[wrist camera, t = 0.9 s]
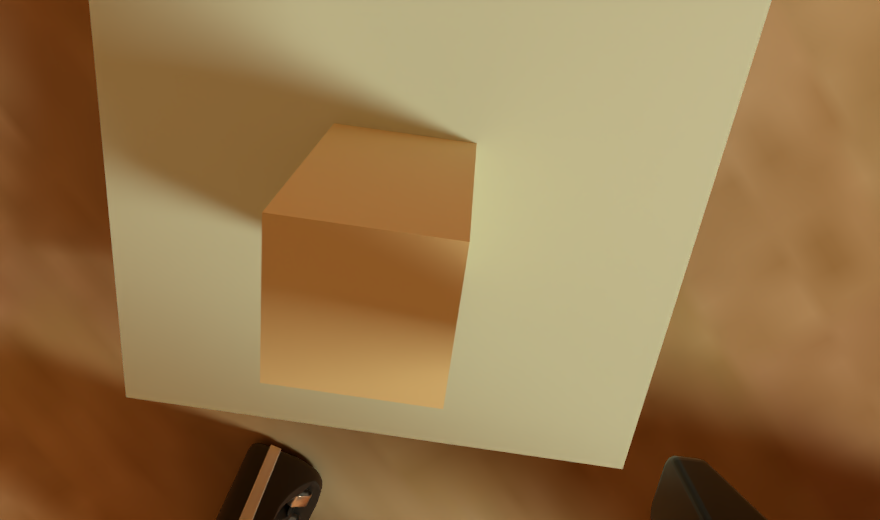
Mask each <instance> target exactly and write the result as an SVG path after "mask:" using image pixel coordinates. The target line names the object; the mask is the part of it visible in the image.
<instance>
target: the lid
mask: <svg viewBox="0 0 880 520" xmlns="http://www.w3.org/2000/svg"><path fill="white" fill-rule="evenodd" d="M771 1H772V0H89V9H90V20H91V30H92V41H93V52H94V62H95V73H96V84H97V94H98V105H99V116H100V126H101V137H102V148H103V158H104V169H105V179H106V190H107V201H108V211H109V222H110V233H111V243H112V254H113V265H114V275H115V286H116V296H117V307H118V318H119V328H120V339H121V350H122V360H123V371H124V382H125V392H126V397H127V398H134V399H141V400H148V401H155V402H162V403H169V404H176V405H183V406H190V407H196V408H203V409H210V410H217V411H224V412H231V413H238V414H245V415H252V416H259V417H266V418H272V419H279V420H286V421H293V422H300V423H307V424H314V425H321V426H328V427H335V428H342V429H348V430H355V431H362V432H369V433H376V434H383V435H390V436H397V437H404V438H411V439H418V440H424V441H431V442H438V443H445V444H452V445H459V446H466V447H473V448H480V449H487V450H494V451H500V452H507V453H514V454H521V455H528V456H535V457H542V458H549V459H556V460H563V461H570V462H576V463H583V464H590V465H597V466H604V467H611V468H618V469H623V466H624V463H625V460H626V457H627V454H628V451H629V447H630V444H631V441H632V438H633V435H634V432H635V429H636V425H637V422H638V419H639V416H640V413H641V410H642V407H643V403H644V400H645V397H646V394H647V391H648V388H649V385H650V381H651V378H652V375H653V372H654V369H655V366H656V363H657V359H658V356H659V353H660V350H661V347H662V344H663V341H664V337H665V334H666V331H667V328H668V325H669V322H670V318H671V315H672V312H673V309H674V306H675V303H676V300H677V296H678V293H679V290H680V287H681V284H682V281H683V278H684V274H685V271H686V268H687V265H688V262H689V259H690V256H691V252H692V249H693V246H694V243H695V240H696V237H697V234H698V230H699V227H700V224H701V221H702V218H703V215H704V212H705V208H706V205H707V202H708V199H709V196H710V193H711V190H712V186H713V183H714V180H715V177H716V174H717V171H718V168H719V164H720V161H721V158H722V155H723V152H724V149H725V145H726V142H727V139H728V136H729V133H730V130H731V127H732V123H733V120H734V117H735V114H736V111H737V108H738V105H739V101H740V98H741V95H742V92H743V89H744V86H745V83H746V79H747V76H748V73H749V70H750V67H751V64H752V61H753V57H754V54H755V51H756V48H757V45H758V42H759V39H760V35H761V32H762V29H763V26H764V23H765V20H766V17H767V13H768V10H769V7H770V4H771Z"/></svg>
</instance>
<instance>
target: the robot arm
mask: <svg viewBox="0 0 880 520" xmlns="http://www.w3.org/2000/svg"><path fill="white" fill-rule="evenodd" d="M651 520H767V519H766V518H765V517H764V516H763V515H762V514H761V513H760V512H759V511H758V510H757V509H756V508H755V507H753V506H752V505H751V504H750V503H749V502H748V501H747V500H746V499H745V498H744V497H743V496H742V495H741V494H740V493H739V492H738V491H737V490H736V489H734V488H733V487H732V486H731V485H730V484H729V483H728V482H727V481H726V480H725V479H724V478H723V477H722V476H721V475H720V474H719V473H718V472H717V471H715V470H714V469H713V468H712V467H711V466H710V465H709V464H708V463H707V462H705V461H704V460H702V459H698V458H690V457H682V456H672V457H670V458H669V459H668V460H667V461H666V463H665V466H664V469H663V472H662V475H661V478H660V481H659V484H658V487H657V490H656V493H655V496H654V499H653V503H652V507H651Z"/></svg>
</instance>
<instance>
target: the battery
mask: <svg viewBox="0 0 880 520" xmlns="http://www.w3.org/2000/svg"><path fill="white" fill-rule="evenodd" d="M321 489H322V479H321V477H320V475H319V473H318V472H317V471H316V470H315V469H314V468H313V467H311V466H310V465H309V464H308V463H306V462H304V461H302V460H300V459H299V458H297V457H295V456H292V455H290V454H287V453H285V452H282V451H281V448H278V447H276V446H273V445H271V446H270V447H269V446H266V445H264V444H261V443H255V444H253V445H252V446H251V447H250V449H249V450H248V452H247V454H246V456H245V458H244V461H243V463H242V465H241V467H240V469H239V471H238V473H237V476H236V478H235V480H234V482H233V484H232V486H231V488H230V491H229V493H228V495H227V497H226V499H225V501H224V504H223V506H222V508H221V510H220V512H219V514H218V516H217V519H216V520H309V518H310V516H311V514H312V512H313V510H314V508H315V506H316V504H317V502H318V499H319V496H320V492H321Z"/></svg>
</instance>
